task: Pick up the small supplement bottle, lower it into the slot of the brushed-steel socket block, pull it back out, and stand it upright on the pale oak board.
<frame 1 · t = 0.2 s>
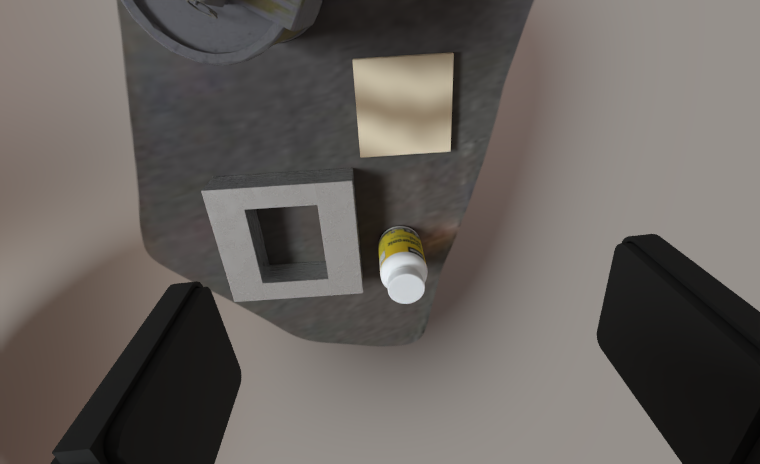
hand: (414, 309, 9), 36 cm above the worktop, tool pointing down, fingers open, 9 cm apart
supplement bottle: (399, 242, 51), on the worktop
socket block: (293, 229, 50), on the worktop
oak board: (403, 106, 43), on the worktop
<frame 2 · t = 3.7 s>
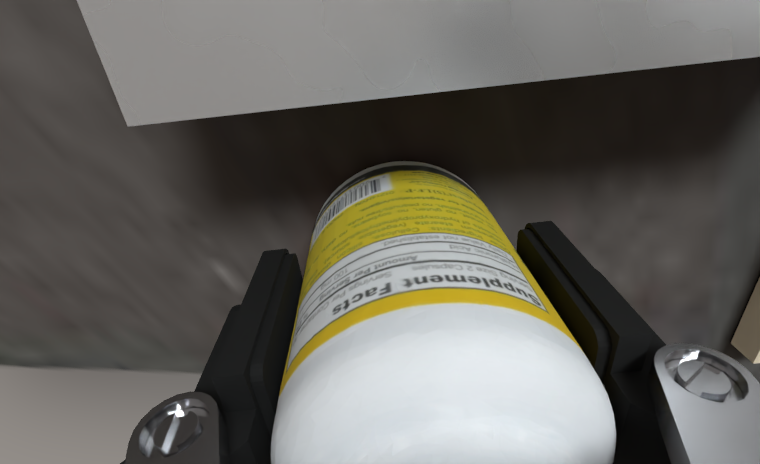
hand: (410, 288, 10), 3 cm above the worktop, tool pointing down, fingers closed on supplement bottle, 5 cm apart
supplement bottle: (401, 235, 13), on the worktop, touching gripper
when the fingers open (5 cm above the worktop, at t = 14.8 s): supplement bottle drops 1 cm, resting on oak board.
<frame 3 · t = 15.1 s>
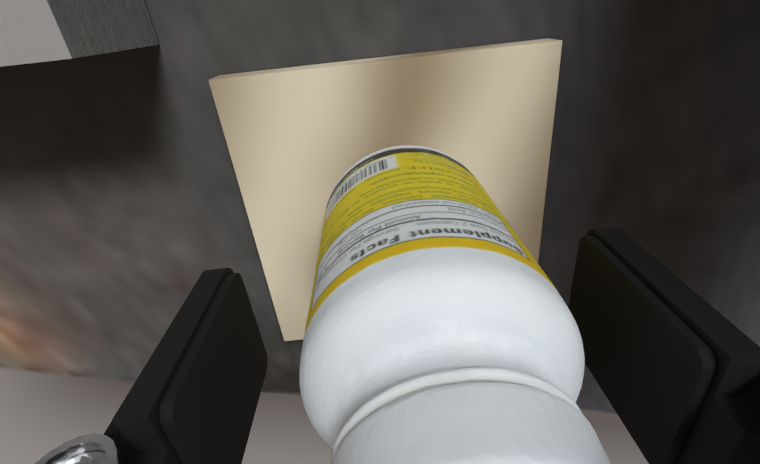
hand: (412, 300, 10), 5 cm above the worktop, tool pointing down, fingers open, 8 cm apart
supplement bottle: (405, 215, 14), point 1 cm above the worktop, touching oak board
oak board: (395, 205, 15), on the worktop
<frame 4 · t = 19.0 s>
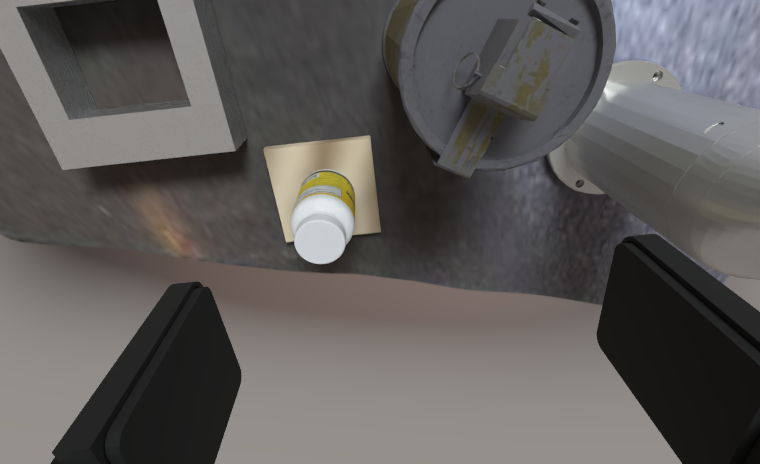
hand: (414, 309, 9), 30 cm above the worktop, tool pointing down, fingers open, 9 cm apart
supplement bottle: (328, 192, 40), point 1 cm above the worktop, touching oak board
canister: (441, 46, 35), on the worktop
socket block: (135, 54, 34), on the worktop
oak board: (326, 189, 40), on the worktop
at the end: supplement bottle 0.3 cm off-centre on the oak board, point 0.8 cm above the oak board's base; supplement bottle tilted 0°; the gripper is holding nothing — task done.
